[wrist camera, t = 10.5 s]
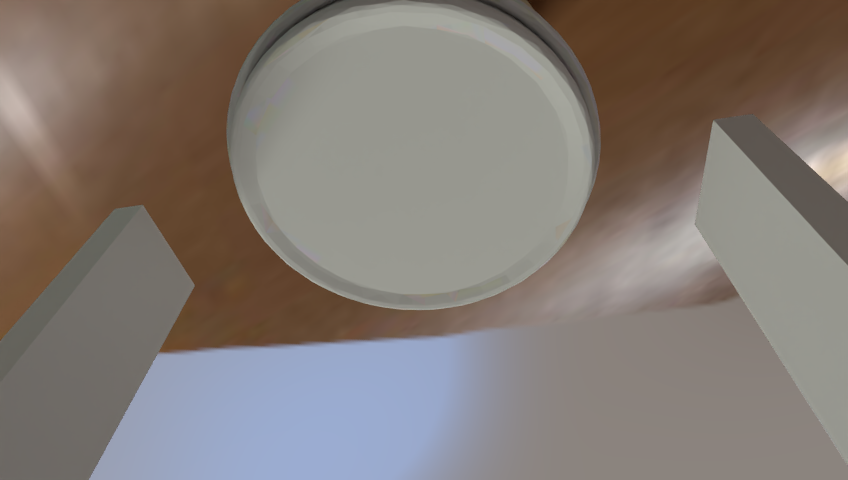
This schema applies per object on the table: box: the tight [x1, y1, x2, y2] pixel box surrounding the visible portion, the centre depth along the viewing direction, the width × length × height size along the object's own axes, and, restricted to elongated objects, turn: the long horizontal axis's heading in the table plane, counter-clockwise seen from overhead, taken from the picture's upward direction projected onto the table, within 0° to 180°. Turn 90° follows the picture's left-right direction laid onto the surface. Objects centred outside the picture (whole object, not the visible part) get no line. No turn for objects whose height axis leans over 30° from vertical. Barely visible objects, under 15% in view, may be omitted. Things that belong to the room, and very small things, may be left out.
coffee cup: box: [227, 0, 601, 310], centre depth 17 cm, size 9×9×12 cm
